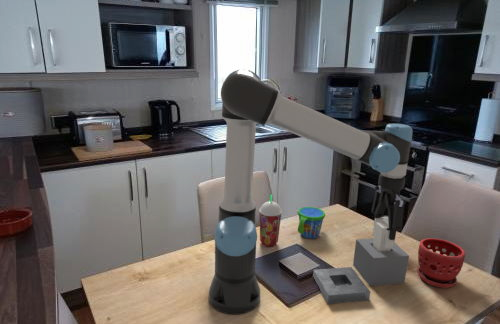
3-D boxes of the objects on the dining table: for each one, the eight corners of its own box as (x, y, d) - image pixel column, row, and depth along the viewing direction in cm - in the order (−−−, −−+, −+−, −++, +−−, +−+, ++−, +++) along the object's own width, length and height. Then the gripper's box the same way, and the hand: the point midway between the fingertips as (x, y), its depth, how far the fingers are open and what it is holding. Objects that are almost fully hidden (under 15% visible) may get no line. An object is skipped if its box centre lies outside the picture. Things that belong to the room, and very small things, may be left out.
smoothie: (283, 242, 139) (286, 193, 133) (273, 251, 132) (275, 200, 126) (264, 236, 143) (267, 189, 137) (253, 244, 136) (255, 195, 130)
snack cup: (310, 224, 154) (312, 202, 151) (331, 233, 147) (333, 210, 144) (287, 236, 143) (288, 212, 141) (308, 246, 136) (310, 221, 133)
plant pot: (467, 290, 113) (475, 257, 109) (427, 291, 112) (434, 257, 108) (443, 267, 125) (449, 236, 122) (406, 267, 124) (412, 236, 121)
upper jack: (369, 286, 113) (373, 258, 111) (353, 265, 125) (356, 239, 122) (404, 283, 115) (409, 255, 113) (384, 262, 127) (388, 237, 124)
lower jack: (327, 304, 104) (328, 295, 104) (312, 277, 117) (313, 269, 116) (369, 300, 107) (370, 291, 106) (350, 274, 119) (351, 267, 118)
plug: (378, 256, 116) (382, 228, 113) (372, 249, 119) (376, 222, 116) (392, 255, 116) (396, 227, 114) (386, 248, 120) (390, 221, 117)
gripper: (423, 185, 101) (410, 257, 108) (386, 165, 120) (377, 227, 127) (399, 186, 100) (387, 258, 107) (365, 165, 119) (357, 228, 125)
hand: (382, 241), depth 117 cm, fingers open, 7 cm apart
